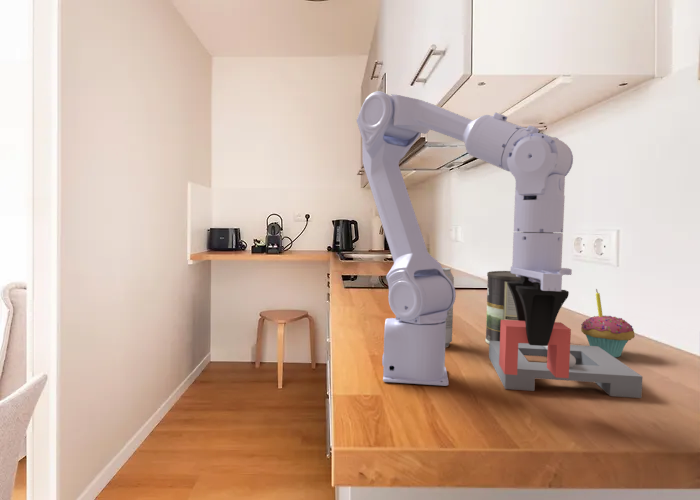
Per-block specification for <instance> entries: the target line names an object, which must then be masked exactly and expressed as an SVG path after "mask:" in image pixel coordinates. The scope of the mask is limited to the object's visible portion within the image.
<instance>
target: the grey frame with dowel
mask: <svg viewBox="0 0 700 500" xmlns="http://www.w3.org/2000/svg"><path fill="white" fill-rule="evenodd" d="M547 351H548V345H547V346H538V345H530V344H528V343H518V366H517V375H511V374H504V372H503V370H502V369H501V367H500V365H499V354H500V341H489V344H488V358H489V360H490V362H491V365H492V366H493V368H494V370H495V372H496V373H497V376H498V377H499V379H500V382H501V383H502V385H503V388H504V389H505V390H517V391H531V392H532V391H533V392H535V385H536V384H535V383H536V381H535V380H536V379H538V380H551V381H552V380H555V381H571V382H573V381H574V382H583V383H585V382H586V383H587V382H588V383H595V384H596V385H597V386H598V387H599V388H601V390H603V391H604V392H605V393H606V394H607V395H609V396H610V397H619V398H621V397H622V398H632V399H633V398H637V399H642V394H643V376H642V375H641V374H640V373H638V372H637V371H635V370H634V369H632V368H630V366H628V365H626V364H625V363H623V362H622V361H620V360H619V359H617V357H613V356H612V355H610V354H609V353H607V352H606V351H604V350H603V349H601V348H600V347H598V346H590V345H580V344H579V345H578V344H570V361H569V378H557V377H555V376H554V375H553V374H552V373H551V372H550V370H549V369H548V368H547V362H540V361H539V362H538V361H529V360H528V359H527V358H526V357H525V356H530V357H531V356H532V357H545V358H547Z"/></svg>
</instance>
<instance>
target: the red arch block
mask: <svg viewBox="0 0 700 500" xmlns="http://www.w3.org/2000/svg"><path fill="white" fill-rule="evenodd" d="M571 334H572V329H571V328H570V327H568V326H567V325H565V324H564V323H562V322H558V321H555V323H554V326H553V330H552V333H551V337H550V340H549V343H548V351H547V357H546V363H547V368H548V369H549V370H550V372H551V373H552V374H553V375H554V376H555V377H557V378H569V361H570V345H571ZM518 343H528V339H527V333H526V324H525V321H519V320H501V327H500V354H499V365H500V367H501V369H502V370H503V372H504V374H511V375H517V366H518ZM528 344H529V343H528Z"/></svg>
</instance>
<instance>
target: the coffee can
mask: <svg viewBox="0 0 700 500" xmlns="http://www.w3.org/2000/svg"><path fill="white" fill-rule="evenodd" d="M486 274H487V275H486V276H487V283H486V284H487V293H486V325H485V326H486V327H485V328H486V329H485V340H484V341H485V343H487V344H488V345H489V341H500V327H501V320H518V319H517V312H516V307H515V303H514V299H513V296H512V294H511V291H510V289H509V287H508V285H507V282H509V281H516V282H519V280H521V277H516V274H512V273H511V272H510V270H494V271H493V270H491V271H487V273H486Z"/></svg>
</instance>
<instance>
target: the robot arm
mask: <svg viewBox="0 0 700 500" xmlns="http://www.w3.org/2000/svg"><path fill="white" fill-rule="evenodd" d="M507 119H508V116H507V115H504V114H502V113H498V112H494V113H493V115H490V114H484V115H481V116H479V117H478V118H476V119H474V120H472V119H470V118H468V117H465V116H464V115H463V116H462V115H460V114H458V113H455V112H454V111H450V110H449V109H446V108H444V107H441V106H438V105H436V104H433V103H430V102H428V101H425V100H422V99H419V98H413V97H410V96H405V95H399V94H391V95H390V94H388V93H386V92H384V91H382V90H377V91H373V92H372V93H370V94H369V95H367V97H366V98H365V99H364V101H363V104H362V105H361V108H360V110H359V113H358V115H357V119H356V123H357V127H358V129H359V133H360V136H361V139H362V142H361V143H362V164H363V168H364V171H365V175H366V178H367V181H368V184H369V188H370V190H371V193H372V197H373V200H374V204H375V207H376V210H377V213H378V216H379V219H380V222H381V225H382V228H383V232H384V236H385V238H386V241H387V244H388V247H389V251H390V255H391V257H392V261H393V264H392V266H391V268H390V270H389V271H388V273H387V274H386V275H385V277H386V278H385V279H386V281H387V285H388V296H387V297H388V304H389V307H390V310H391V311H392V313H393V314H394V315H395V318H393V317H389V318H385V320H384V321H385V322H384V332H383V354H382V361H381V362H382V364H381V366H382V367H383V376H382V381H383V382H385V383H398V384H399V383H400V384H413V385H414V384H415V385H428V386H445V387H446V386H449V378H448V372H447V367H446V365H445V364H446V347H445V334H446V318H447V311H448V310H449V309H450V308H451V307H452V306H453V307H454V304H455V302H456V301H455V300H456V288H455V286H454V285H453V283H452V282H451V280H450V279H449V278H448V277H447V276H446V275H445V273H444V271H443V269H442V268H443V266H442V264H441V263H440V262H439V261H438V260H437V259H435V258H434V256H432V255H431V254H430V253H429V251H428V248H427V246H426V242H425V239H424V236H423V234H422V231H421V230H422V229H421V228H420V225H419V222H418V221H419V220H418V219H417V216H416V213H415V210H414V207H413V204H412V200H411V199H410V198H411V197H410V194H409V192H408V188H407V185H406V183H405V180H404V177H403V173H402V171H401V168H400V166H399V165H400V164H399V163H400V161H401V160H402V159H403V158H404V157H405V156H406V154H407V153H408V152H409V150H410V149H411V147H412V146H413V145H414V144H415V143H416V141H417V140H418V139H419V137H420V136H421V134H424V135H426V134H427V133H428V132H429V131H430V130H431V131H434V132H436V133H439V134H442V135H444V136H447V137H450V138H452V139H455V140H457V141H461V142H463V143H464V147H465V151H466V152H467V154H468V155H469V156H471V157H473V158H476V159H478V160H480V161H483V162H485V163H488V164H490V165H493V166H494V167H497V168H499V169H502V170H505V171H507V172H510V173H511V175H512V176H513V177H514V179H515V190H514V209H513V210H514V213H513V214H514V215H513V216H514V217H513V218H514V219H513V237H512V264H511V266H510V269H509V271H510V272H511V273H512V274H516V277H521V280H519V282H516V281H509V282H507V285H508V287H509V289H510V291H511V294H512V296H513V299H514V303H515V307H516V312H517V319H518V320H519V321H525V324H526V333H527V339H528V343H529V344H530V345H538V346H547V345H548V343H549V340H550V337H551V333H552V330H553V326H554V323H555V322H556V319H557V316H558V314H559V312H560V310H561V308H562V307H563V304H564V303H565V302H566V301H567V299H568V297H569V294H570V292H569V291H568V290H566V289H562V287H563V286H562V283H563V282H562V281H563V276H564V275H565V276H569V275H570V276H572V275H573V274H572V271H573V270H572V269H571V268H567V267H562V262H563V261H562V259H563V241H564V235H563V233H564V221H565V219H564V217H565V197H566V196H565V185H566V184H565V183H566V177H567V175H569V173H570V171H571V169H572V166H573V164H574V156H573V155H574V154H573V151H572V150H571V148H570V146H569V145H567V143H565V142H564V141H563V140H560V139H559V138H558V137H554V136H550V135H548V134H545V133H541V132H539V131H540V129H539V128H538V127H536V126H533V125H528V126H527V127H524V126H521V125H518V124H515V123H513V122H509V121H507Z"/></svg>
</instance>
